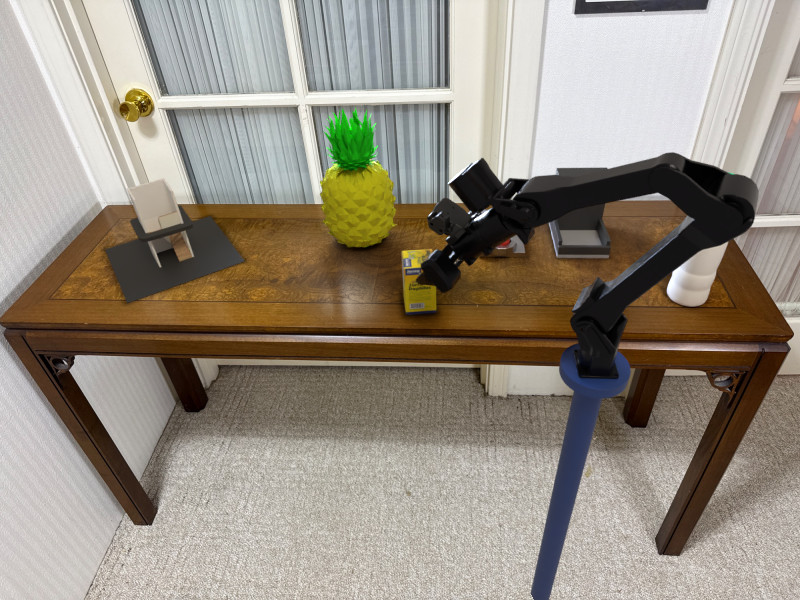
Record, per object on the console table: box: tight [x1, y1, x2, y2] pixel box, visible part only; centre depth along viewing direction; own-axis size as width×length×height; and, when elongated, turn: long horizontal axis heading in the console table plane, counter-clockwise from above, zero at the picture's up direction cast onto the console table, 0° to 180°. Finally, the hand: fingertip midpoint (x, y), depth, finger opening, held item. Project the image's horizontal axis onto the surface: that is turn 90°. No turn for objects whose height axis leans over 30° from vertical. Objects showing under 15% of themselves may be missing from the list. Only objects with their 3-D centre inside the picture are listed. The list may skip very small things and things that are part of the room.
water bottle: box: [666, 171, 734, 308], centre depth 100 cm, size 7×7×25 cm
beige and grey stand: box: [104, 177, 245, 304], centre depth 122 cm, size 25×24×16 cm
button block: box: [479, 209, 526, 258], centre depth 126 cm, size 19×10×3 cm, turn 176°
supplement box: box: [400, 248, 437, 316], centre depth 106 cm, size 6×6×11 cm
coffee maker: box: [548, 167, 612, 259], centre depth 120 cm, size 14×11×14 cm
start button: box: [499, 239, 510, 246], centre depth 120 cm, size 4×4×2 cm
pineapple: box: [319, 107, 397, 248], centre depth 120 cm, size 17×17×30 cm
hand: (429, 268), depth 103 cm, fingers open, 9 cm apart
